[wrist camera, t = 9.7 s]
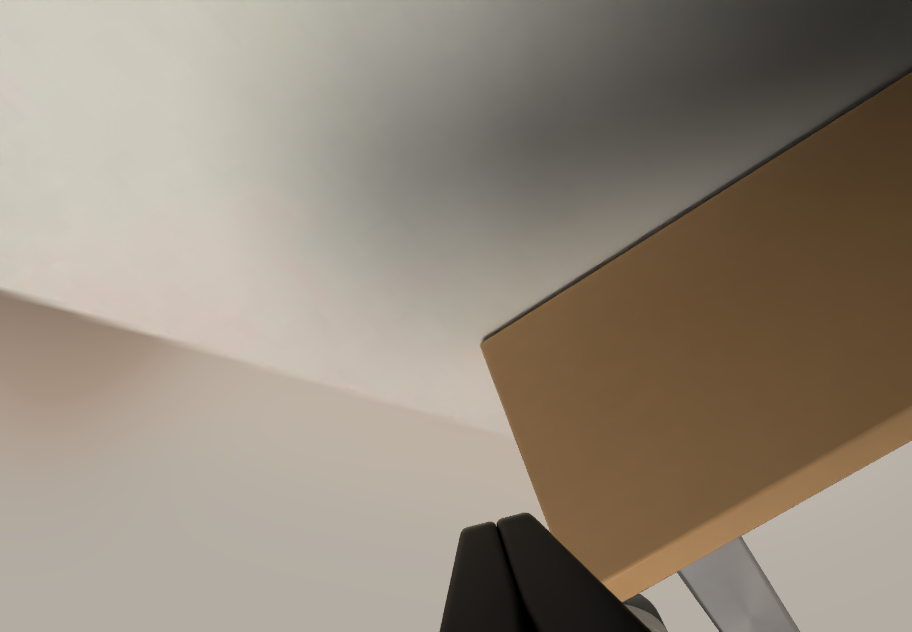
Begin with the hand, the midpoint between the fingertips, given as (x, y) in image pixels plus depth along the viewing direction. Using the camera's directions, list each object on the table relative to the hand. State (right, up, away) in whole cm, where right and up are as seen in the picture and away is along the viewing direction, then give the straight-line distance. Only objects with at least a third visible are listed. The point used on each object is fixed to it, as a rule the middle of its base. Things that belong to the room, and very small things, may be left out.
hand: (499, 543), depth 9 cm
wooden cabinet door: (+9, +4, +13) cm, 17 cm away
